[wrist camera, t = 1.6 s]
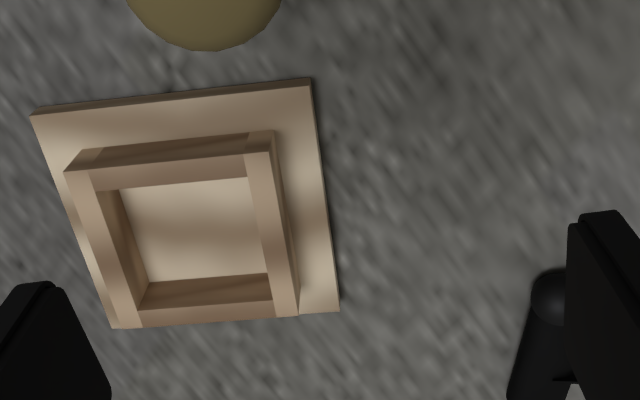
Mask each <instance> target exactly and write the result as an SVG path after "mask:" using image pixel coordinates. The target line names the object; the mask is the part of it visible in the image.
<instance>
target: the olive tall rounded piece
mask: <svg viewBox="0 0 640 400" xmlns="http://www.w3.org/2000/svg"><path fill="white" fill-rule="evenodd" d="M126 1H127V3H128V6H129V7H130V8H131V10H132V11H133V12H134V13H135V14H136V16H137V17H138V18H139V19H140V20H141V22H142V23H143V24H144V25H145V27H146V28H148V29H149V30H151V31H152V32H154V33H155V34H156V35H158V36H159V37H161V38H162V39H164V40H165V41H166V42H168V43H171V44H174V45H176V46H179V47H182V48H185V49H188V50H191V51H215V52H217V51H221V50H224V49H227V48H231V47H234V46H237V45H241V44H244V43H245V42H247V41H248V40H250V39H251V38H252V37H254V36H255V35H257V34H258V33H259V32H261V31H262V30H264V28H265V27H266V26H267V24H268V23H269V21H270V20H271V19H272V17H273V16H274V14H275V13H276V12H277V10H278V9H279V6H280V3H281V0H126Z"/></svg>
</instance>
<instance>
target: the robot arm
mask: <svg viewBox="0 0 640 400" xmlns="http://www.w3.org/2000/svg"><path fill="white" fill-rule="evenodd" d="M563 342H564V349H565V353H566V356H567V359H568V361H569V363H570V365H571V368H572V370H573V372H574V374H575V377H576V379H577V381H578V383H579V386H580V388H581V390H582V392H583V395H584V397H585V399H586V400H640V239H639V237H638V236H637V235H636V234H635V232H634V231H633V230H632V228H631V227H630V226H629V224H628V223H627V222H626V221H625V219H624V218H623V217H622V215H621V214H620V213H619V212H618V211H617V210H608V211H600V212H592V213H584V214H581V215H580V216H579V219H578V223H571V224H570V225H569V227H568V237H567V260H566V283H565V305H564V328H563ZM111 397H112V392H111V386H110V384H109V381H108V379H107V377H106V375H105V373H104V371H103V369H102V367H101V365H100V363H99V361H98V359H97V357H96V355H95V353H94V351H93V349H92V346H91V344H90V342H89V340H88V338H87V336H86V334H85V332H84V330H83V328H82V326H81V324H80V322H79V320H78V318H77V316H76V313H75V311H74V309H73V307H72V305H71V303H70V301H69V299H68V297H67V295H66V293H65V291H64V290H63V289H62V288H61V287H56V286H55V284H53V283H52V282H51V281H41V282H33V283H25V284H19V285H17V286H16V287H15V288H14V289H13V290H12V291H11V292H10V294H9V295H8V297H7V298H6V299H5V301H4V302H3V303H2V305H1V306H0V400H111Z"/></svg>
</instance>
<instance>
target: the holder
mask: <svg viewBox="0 0 640 400" xmlns="http://www.w3.org/2000/svg"><path fill="white" fill-rule="evenodd" d="M29 118H30V120H31V123H32V125H33V128H34V130H35V133H36V136H37V138H38V141H39V143H40V146H41V148H42V151H43V154H44V156H45V159H46V161H47V164H48V166H49V169H50V171H51V174H52V177H53V179H54V182H55V184H56V187H57V189H58V192H59V194H60V197H61V200H62V202H63V205H64V207H65V210H66V212H67V215H68V217H69V220H70V223H71V225H72V228H73V230H74V233H75V235H76V238H77V240H78V243H79V246H80V248H81V251H82V253H83V256H84V258H85V261H86V263H87V266H88V269H89V271H90V274H91V276H92V279H93V281H94V284H95V286H96V289H97V292H98V294H99V297H100V299H101V302H102V304H103V307H104V310H105V312H106V315H107V317H108V320H109V322H110V325H111V327H112V329H113V328H122V329H131V328H144V327H157V326H170V325H183V324H196V323H209V322H222V321H235V320H248V319H261V318H274V317H288V316H299V314H308V313H321V312H334V311H340V295H339V287H338V280H337V273H336V265H335V258H334V250H333V243H332V236H331V228H330V221H329V213H328V206H327V198H326V191H325V184H324V176H323V169H322V161H321V154H320V147H319V139H318V132H317V124H316V117H315V110H314V102H313V95H312V87H311V80H310V77H308V78H299V79H290V80H281V81H272V82H263V83H254V84H245V85H235V86H226V87H217V88H208V89H199V90H190V91H181V92H172V93H163V94H153V95H144V96H135V97H126V98H117V99H108V100H99V101H90V102H81V103H71V104H62V105H53V106H44V107H39V108H38V109H36V110H35V111H34V112H33V113H32V114H31V115H30V116H29Z"/></svg>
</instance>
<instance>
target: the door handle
mask: <svg viewBox="0 0 640 400" xmlns="http://www.w3.org/2000/svg"><path fill="white" fill-rule="evenodd" d="M565 283H566V274H561V273H554V274H549V275H546V276H544V277H542V278H541V279H539V280H538V281H537V282H536V283H535V285H534V287H533V289H532V291H531V308H530V312H529V315H528V319H527V322H526V326H525V330H524V333H523V337H522V340H521V344H520V347H519V351H518V354H517V358H516V361H515V365H514V368H513V372H512V375H511V379H510V382H509V386H508V389H507V393H506V398H507V400H565V399H566V396H567V393H568V390H569V388H570V385H571V384H579V383H578V381H577V379H576V377H575V374H574V372H573V370H572V368H571V365H570V363H569V361H568V359H567V356H566V353H565V349H564V342H563V328H564V305H565Z"/></svg>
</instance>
